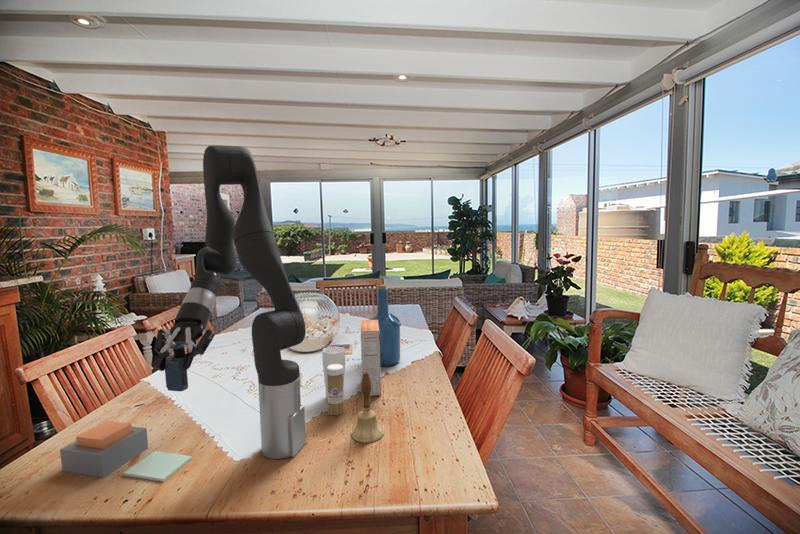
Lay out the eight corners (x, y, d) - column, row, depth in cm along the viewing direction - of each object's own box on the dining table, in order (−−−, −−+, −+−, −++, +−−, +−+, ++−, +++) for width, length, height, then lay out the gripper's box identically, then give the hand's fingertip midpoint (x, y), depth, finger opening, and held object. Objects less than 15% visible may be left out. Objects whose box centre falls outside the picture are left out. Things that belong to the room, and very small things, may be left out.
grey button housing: (148, 448, 91) (146, 428, 90) (103, 477, 80) (101, 455, 80) (110, 442, 93) (108, 423, 93) (62, 471, 82) (59, 449, 82)
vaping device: (182, 392, 91) (178, 343, 89) (164, 390, 92) (159, 342, 91) (190, 387, 93) (186, 340, 92) (172, 385, 95) (168, 339, 93)
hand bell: (344, 434, 96) (342, 373, 94) (368, 422, 102) (367, 364, 100) (366, 447, 91) (365, 382, 89) (390, 433, 97) (389, 372, 95)
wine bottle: (362, 366, 142) (360, 287, 139) (370, 354, 155) (369, 282, 152) (398, 368, 140) (397, 288, 137) (403, 356, 153) (403, 282, 150)
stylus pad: (192, 458, 87) (192, 456, 86) (163, 481, 79) (163, 479, 79) (155, 453, 89) (155, 451, 89) (123, 475, 81) (123, 472, 81)
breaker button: (132, 435, 89) (131, 423, 89) (103, 453, 82) (101, 440, 82) (107, 432, 90) (106, 420, 90) (77, 449, 84) (76, 436, 83)
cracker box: (362, 379, 131) (361, 319, 128) (379, 378, 131) (378, 319, 129) (361, 397, 117) (360, 330, 115) (381, 396, 117) (380, 330, 115)
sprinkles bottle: (329, 417, 105) (328, 370, 103) (326, 410, 109) (324, 364, 107) (346, 414, 106) (344, 367, 105) (342, 407, 111) (340, 362, 109)
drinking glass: (335, 404, 113) (334, 354, 111) (318, 398, 116) (317, 351, 115) (350, 395, 118) (349, 348, 117) (333, 390, 122) (332, 344, 120)
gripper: (162, 301, 98) (132, 363, 88) (217, 300, 98) (193, 363, 87) (177, 316, 104) (150, 376, 93) (228, 316, 103) (207, 376, 93)
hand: (171, 369), depth 90 cm, fingers closed on vaping device, 5 cm apart
